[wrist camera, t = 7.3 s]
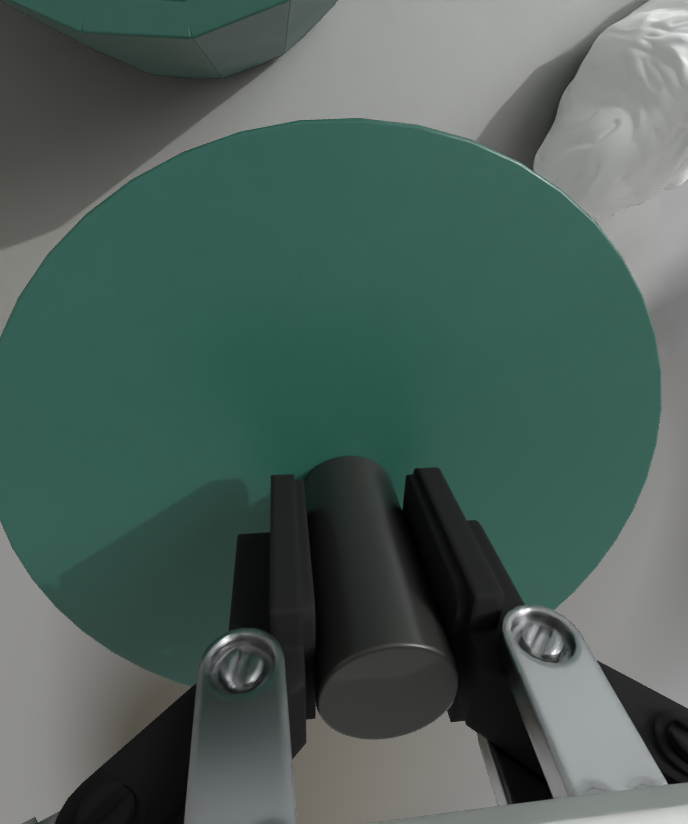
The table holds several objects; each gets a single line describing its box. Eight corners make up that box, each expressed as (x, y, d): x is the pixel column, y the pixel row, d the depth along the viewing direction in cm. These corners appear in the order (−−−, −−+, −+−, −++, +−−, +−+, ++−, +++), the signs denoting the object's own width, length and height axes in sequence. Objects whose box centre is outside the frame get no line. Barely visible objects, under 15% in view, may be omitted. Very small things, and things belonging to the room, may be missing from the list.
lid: (-103, 104, 9) (-741, 29, 3) (724, 134, 11) (1208, 119, 6) (83, 692, 17) (-17, 982, 11) (560, 648, 19) (689, 873, 13)
